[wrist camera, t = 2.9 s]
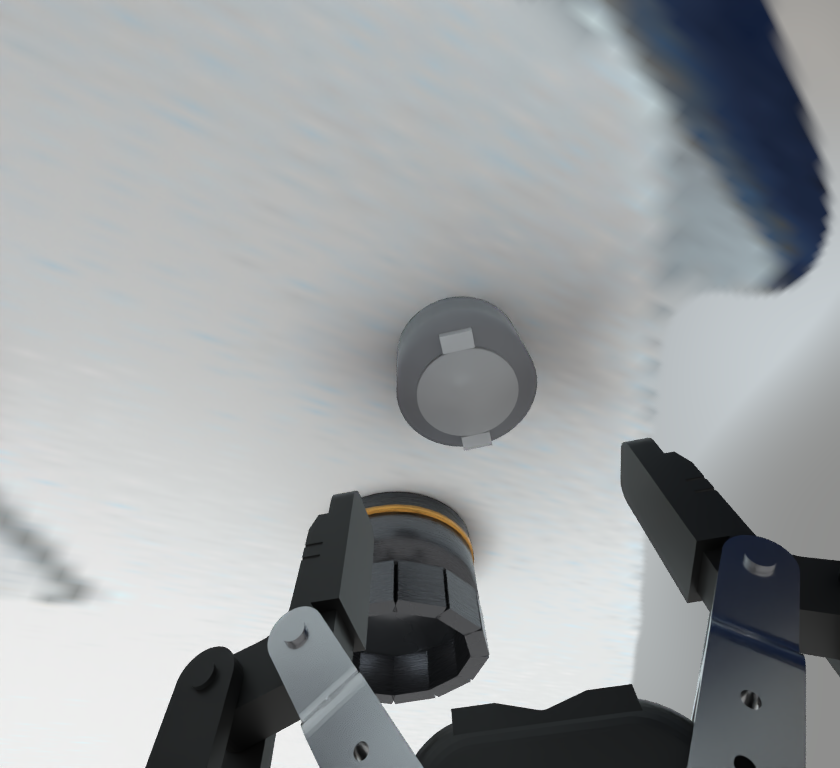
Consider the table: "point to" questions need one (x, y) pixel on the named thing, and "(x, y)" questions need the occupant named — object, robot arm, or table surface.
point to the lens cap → (463, 373)
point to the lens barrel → (420, 601)
